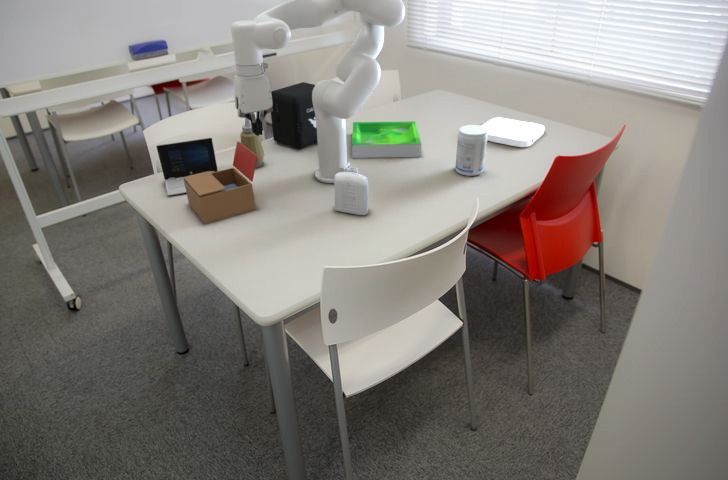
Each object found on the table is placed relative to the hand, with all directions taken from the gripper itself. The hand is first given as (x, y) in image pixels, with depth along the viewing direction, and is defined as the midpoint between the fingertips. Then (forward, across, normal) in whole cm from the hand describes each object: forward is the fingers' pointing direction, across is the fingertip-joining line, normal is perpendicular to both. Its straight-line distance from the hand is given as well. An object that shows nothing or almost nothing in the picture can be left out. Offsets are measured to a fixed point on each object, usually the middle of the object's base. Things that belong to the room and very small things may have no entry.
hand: (258, 133), depth 152 cm
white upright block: (+20, -17, +25) cm, 36 cm away
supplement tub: (+20, -66, +23) cm, 72 cm away
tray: (+20, -57, -14) cm, 61 cm away
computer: (+19, -103, +6) cm, 105 cm away
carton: (+20, +14, 0) cm, 25 cm away
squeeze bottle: (+20, -7, -25) cm, 33 cm away
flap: (+7, +5, 0) cm, 9 cm away
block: (+20, +11, 0) cm, 23 cm away
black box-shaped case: (+20, -33, -36) cm, 53 cm away
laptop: (+20, +17, -21) cm, 34 cm away
